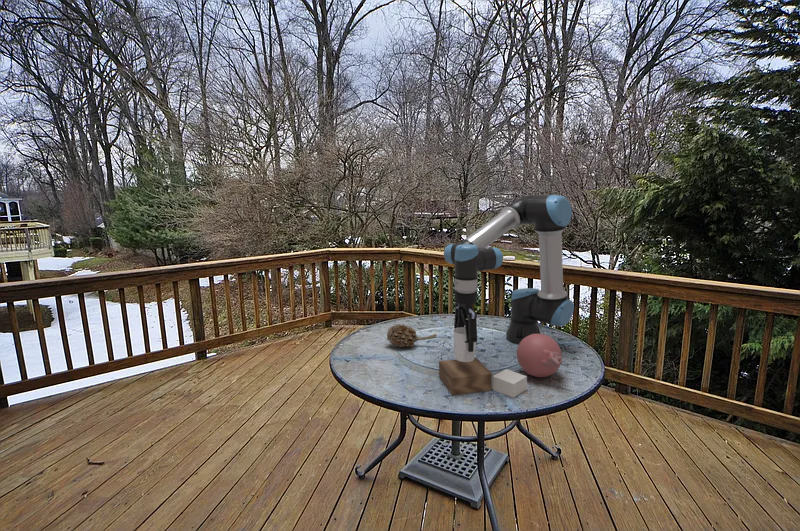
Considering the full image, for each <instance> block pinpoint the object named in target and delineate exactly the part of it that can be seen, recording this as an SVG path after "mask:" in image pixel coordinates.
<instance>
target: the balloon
mask: <svg viewBox="0 0 800 531" xmlns="http://www.w3.org/2000/svg"><path fill="white" fill-rule="evenodd" d="M516 349H517V350H516V359H517V362H518V364H519V366H520V368H521V369H522V370H523V371H524V372H525V373H526V374H527V375H530V376H531V377H536V378H546V377H550V376H552V375H553V374H555V373H556V372H557V371H558V370H559V369H560V366H561V365H562V364H563V360H562V359H563V355H562V350H561V347H560V345H559V344H558V342H557V341H556V340H555V339H554V338H553V337H552V336H549V335H547V334H544V333H541V334H531V335H529V336H527V337H525V338H524V339H523V340H522V341H521V342H520V344H518V346H517V348H516Z"/></svg>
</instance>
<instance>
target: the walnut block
mask: <svg viewBox="0 0 800 531" xmlns="http://www.w3.org/2000/svg"><path fill="white" fill-rule="evenodd" d="M439 377H440V378H441V379H440V378H439ZM438 378H439V379H440V380H441V382H442V381H443V382H442V384H444V386H445V387H446V389H447V390H448V391H449V393H450V394H451V395H452V396H456V395H457V396H458V395H464V394H466V395H467V394H470V393H471V394H472V393H479V392H480V393H481V392H487V391H488V392H489V391H492V390H493V373H492V372H491V371H490V370H489V368H487V367H486V366H485V365H484V364H483V363H482V362H481V361H480V360H479V359H478V358H476V357H475V356H474V360H473V361H471V362H461V361H458V360H456V359H455V358H454V359H449V360H440V361H438Z"/></svg>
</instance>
